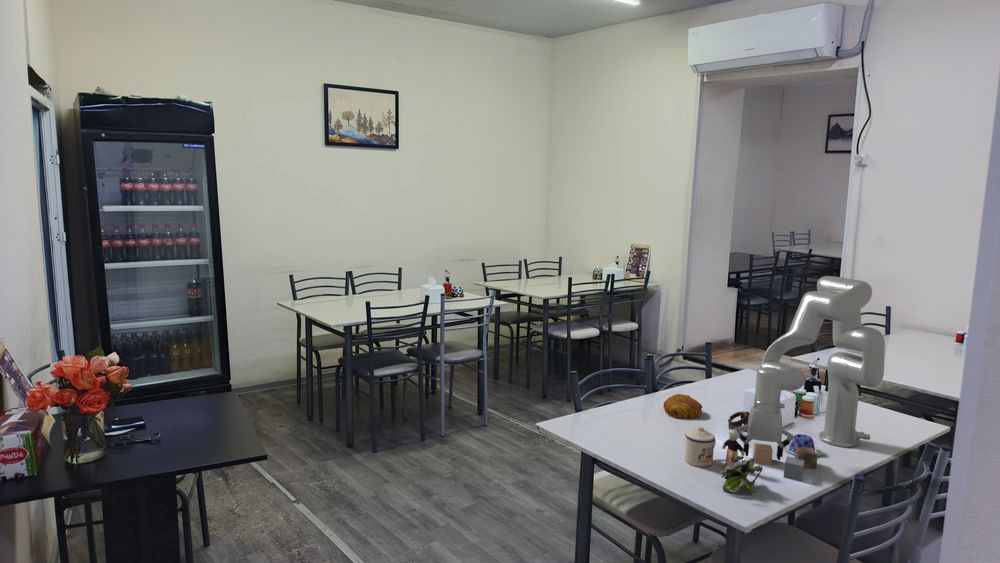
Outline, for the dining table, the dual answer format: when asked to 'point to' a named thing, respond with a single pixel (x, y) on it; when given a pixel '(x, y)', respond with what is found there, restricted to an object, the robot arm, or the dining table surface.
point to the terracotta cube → (762, 453)
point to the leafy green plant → (739, 474)
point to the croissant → (682, 406)
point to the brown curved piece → (744, 420)
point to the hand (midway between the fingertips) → (762, 456)
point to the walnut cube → (807, 457)
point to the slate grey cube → (794, 468)
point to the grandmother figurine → (732, 447)
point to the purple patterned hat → (801, 444)
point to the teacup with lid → (699, 447)
